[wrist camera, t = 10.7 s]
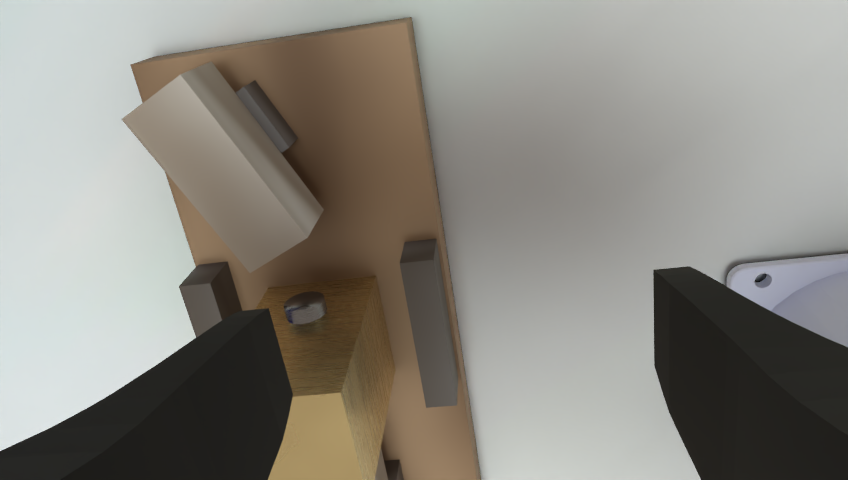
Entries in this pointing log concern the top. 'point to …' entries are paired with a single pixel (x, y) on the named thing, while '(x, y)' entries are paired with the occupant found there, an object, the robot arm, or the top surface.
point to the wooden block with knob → (332, 377)
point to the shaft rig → (319, 204)
